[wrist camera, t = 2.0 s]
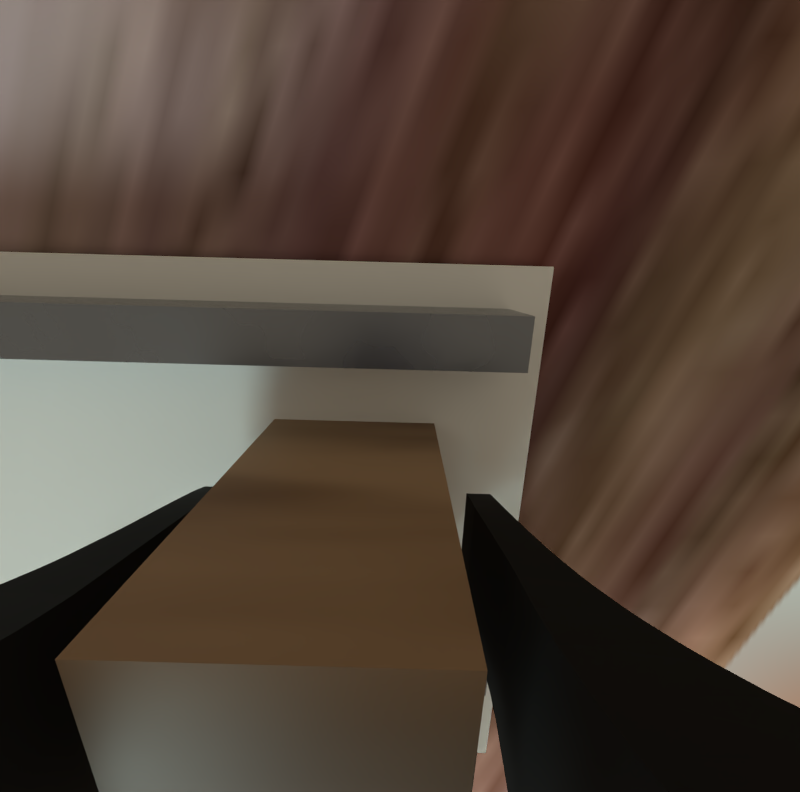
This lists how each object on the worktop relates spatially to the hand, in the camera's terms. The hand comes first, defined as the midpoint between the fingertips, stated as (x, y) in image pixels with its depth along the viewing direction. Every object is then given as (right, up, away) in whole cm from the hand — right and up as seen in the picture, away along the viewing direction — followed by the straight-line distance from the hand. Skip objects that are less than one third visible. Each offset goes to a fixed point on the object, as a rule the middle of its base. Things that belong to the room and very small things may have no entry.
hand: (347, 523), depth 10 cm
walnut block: (0, 0, +1) cm, 2 cm away
